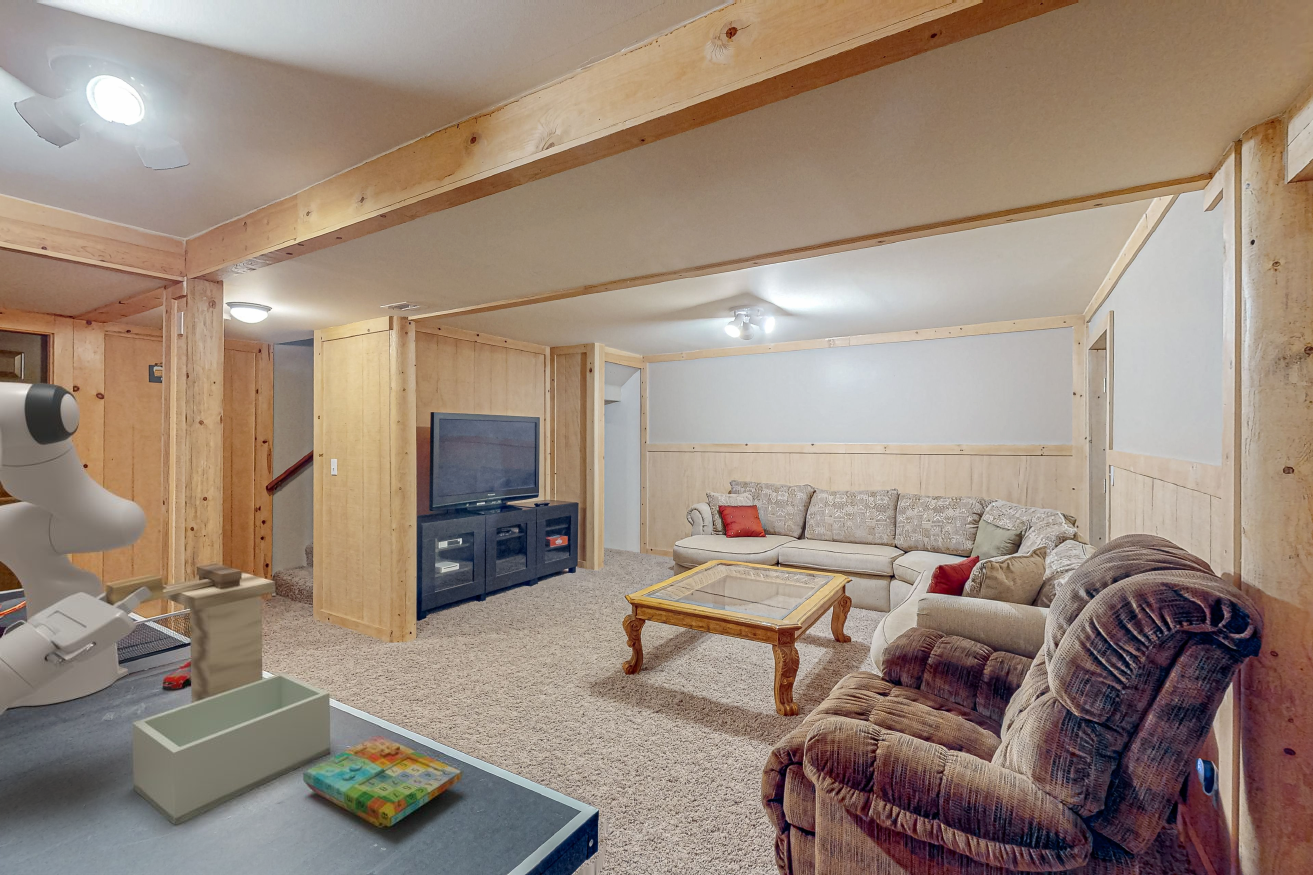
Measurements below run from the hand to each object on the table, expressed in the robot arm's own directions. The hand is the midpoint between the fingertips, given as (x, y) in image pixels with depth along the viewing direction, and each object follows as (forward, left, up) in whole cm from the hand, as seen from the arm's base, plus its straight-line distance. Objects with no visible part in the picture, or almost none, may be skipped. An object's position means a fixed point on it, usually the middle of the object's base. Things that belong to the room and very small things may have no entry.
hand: (141, 586), depth 96 cm
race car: (-29, +18, -28) cm, 44 cm away
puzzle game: (+42, +15, -28) cm, 53 cm away
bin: (+17, +6, -28) cm, 33 cm away
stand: (0, +11, -28) cm, 30 cm away
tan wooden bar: (0, +5, -2) cm, 5 cm away
